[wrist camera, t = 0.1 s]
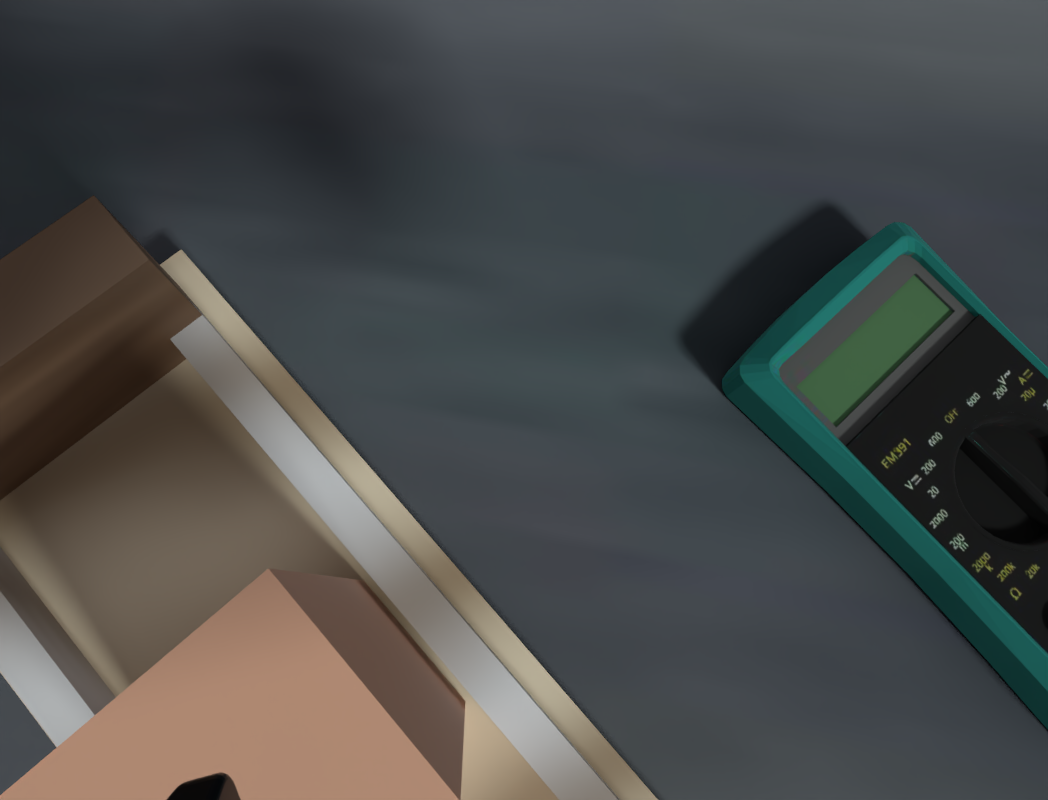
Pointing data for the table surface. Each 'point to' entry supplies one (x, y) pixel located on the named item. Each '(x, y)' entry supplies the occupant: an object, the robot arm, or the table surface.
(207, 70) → the table surface
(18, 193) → the table surface
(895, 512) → the digital multimeter
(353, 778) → the brown rectangular block
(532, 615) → the table surface
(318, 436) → the rail
